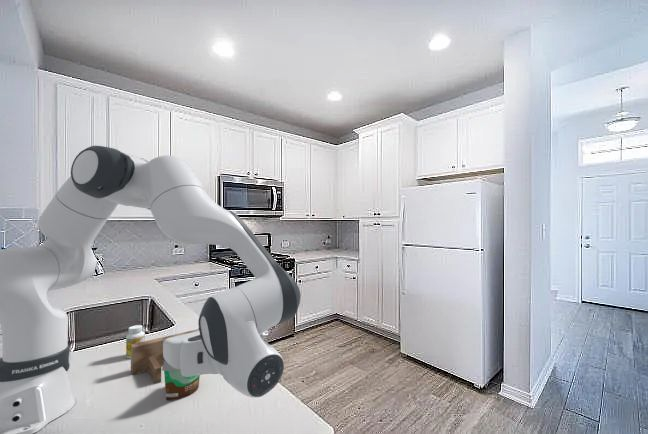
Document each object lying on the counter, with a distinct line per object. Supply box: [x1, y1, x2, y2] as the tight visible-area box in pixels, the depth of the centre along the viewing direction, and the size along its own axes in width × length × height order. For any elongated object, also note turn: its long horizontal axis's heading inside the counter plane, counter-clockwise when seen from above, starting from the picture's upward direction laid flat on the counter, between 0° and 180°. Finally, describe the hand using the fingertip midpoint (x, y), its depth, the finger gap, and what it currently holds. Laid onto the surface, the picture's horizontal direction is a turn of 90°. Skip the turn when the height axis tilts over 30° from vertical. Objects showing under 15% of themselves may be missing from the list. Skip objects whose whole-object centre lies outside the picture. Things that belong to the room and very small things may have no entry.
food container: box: [161, 361, 201, 401], centre depth 78 cm, size 12×6×10 cm, turn 168°
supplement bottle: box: [125, 324, 146, 360], centre depth 100 cm, size 5×5×10 cm
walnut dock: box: [130, 329, 198, 384], centre depth 91 cm, size 20×13×8 cm, turn 131°
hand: (204, 329), depth 70 cm, fingers closed
